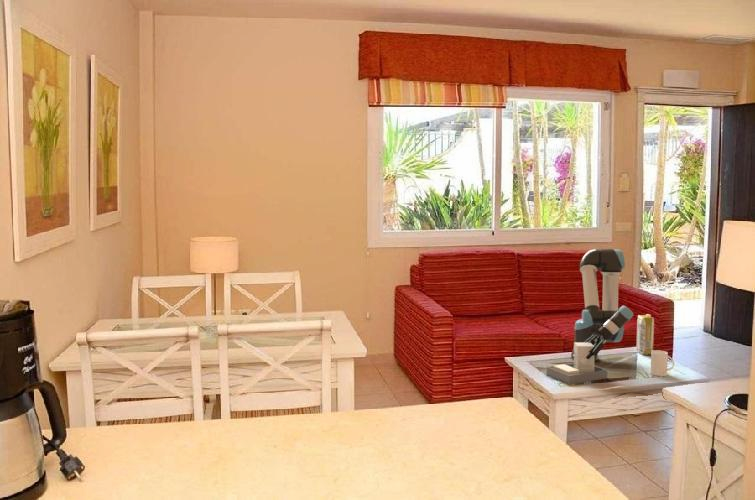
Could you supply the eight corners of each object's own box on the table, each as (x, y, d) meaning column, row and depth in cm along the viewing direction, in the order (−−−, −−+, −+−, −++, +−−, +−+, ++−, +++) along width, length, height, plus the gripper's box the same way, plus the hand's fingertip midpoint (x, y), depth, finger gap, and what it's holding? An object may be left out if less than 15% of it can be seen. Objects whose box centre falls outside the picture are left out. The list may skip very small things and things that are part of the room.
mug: (676, 375, 337) (677, 353, 336) (669, 378, 331) (670, 356, 330) (654, 370, 346) (655, 349, 345) (647, 373, 340) (648, 352, 339)
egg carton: (553, 375, 335) (553, 365, 335) (563, 374, 338) (564, 364, 337) (568, 382, 324) (568, 371, 324) (579, 380, 327) (579, 370, 326)
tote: (546, 375, 337) (546, 366, 337) (583, 370, 347) (583, 361, 346) (568, 385, 321) (569, 375, 320) (607, 379, 330) (607, 370, 330)
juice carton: (654, 355, 377) (655, 315, 374) (641, 355, 377) (642, 315, 375) (647, 351, 386) (649, 312, 384) (634, 351, 386) (636, 312, 384)
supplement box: (590, 369, 339) (591, 342, 338) (594, 374, 330) (595, 346, 329) (573, 369, 340) (573, 341, 339) (576, 373, 331) (577, 345, 330)
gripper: (621, 339, 323) (590, 370, 324) (604, 330, 345) (575, 359, 346) (612, 329, 322) (581, 360, 323) (595, 320, 344) (566, 349, 345)
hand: (578, 359), depth 334 cm, fingers closed on supplement box, 9 cm apart
